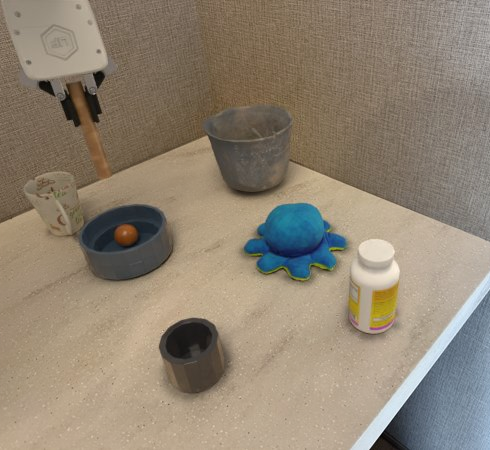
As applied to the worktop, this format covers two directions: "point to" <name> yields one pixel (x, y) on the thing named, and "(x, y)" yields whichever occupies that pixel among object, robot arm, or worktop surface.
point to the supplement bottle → (373, 287)
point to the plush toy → (295, 241)
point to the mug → (56, 202)
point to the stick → (89, 129)
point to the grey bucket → (251, 145)
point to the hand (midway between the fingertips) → (86, 120)
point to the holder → (192, 355)
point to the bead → (126, 235)
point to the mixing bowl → (125, 257)
